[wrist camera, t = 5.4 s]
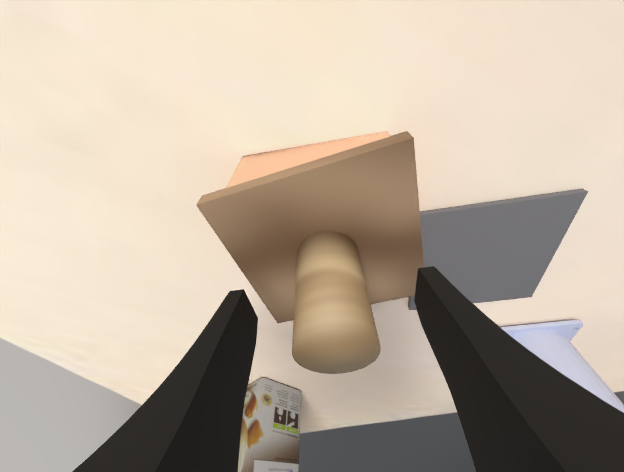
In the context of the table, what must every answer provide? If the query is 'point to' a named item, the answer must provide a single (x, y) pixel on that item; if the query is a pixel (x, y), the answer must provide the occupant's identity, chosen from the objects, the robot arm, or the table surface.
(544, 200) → the mat
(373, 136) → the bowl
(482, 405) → the robot arm
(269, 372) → the table surface
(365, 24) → the table surface
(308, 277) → the lid
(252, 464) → the coffee box
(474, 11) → the table surface
